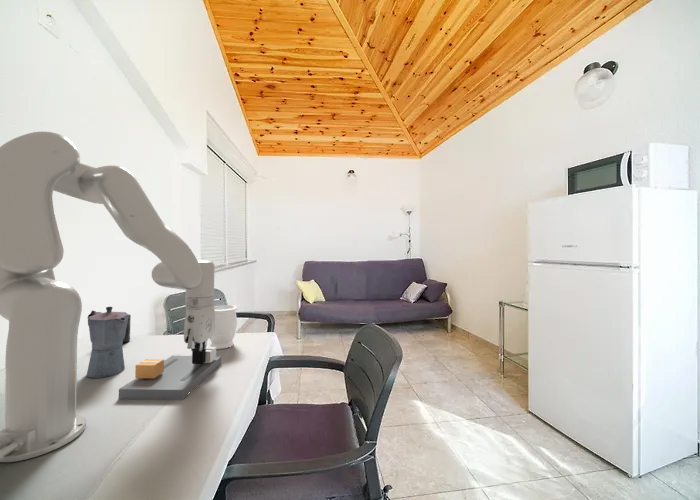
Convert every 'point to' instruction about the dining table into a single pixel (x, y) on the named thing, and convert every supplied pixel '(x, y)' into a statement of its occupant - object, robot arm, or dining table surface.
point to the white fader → (210, 354)
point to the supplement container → (127, 331)
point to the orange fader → (149, 368)
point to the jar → (224, 326)
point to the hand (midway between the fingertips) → (198, 362)
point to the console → (170, 380)
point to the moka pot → (106, 342)
